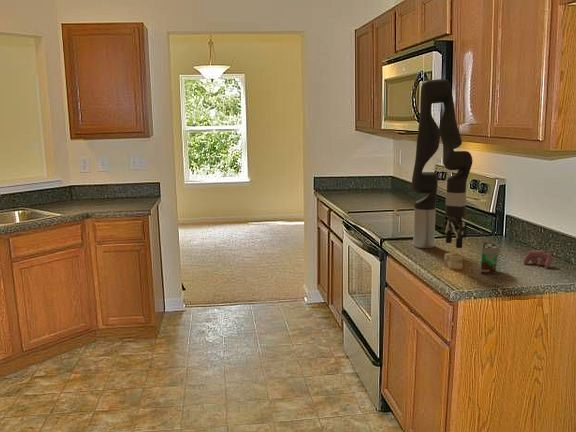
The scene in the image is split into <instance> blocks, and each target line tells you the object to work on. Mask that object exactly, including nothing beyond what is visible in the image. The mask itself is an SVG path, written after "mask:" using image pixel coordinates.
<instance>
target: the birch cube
mask: <svg viewBox="0 0 576 432" xmlns="http://www.w3.org/2000/svg"><path fill="white" fill-rule="evenodd" d="M463 259H464V256H463V255H461V254H459V252H450V253H449V252H448V253H444V262H443V263H444V264H443V265H444V267H446V268H448V269H449V270H457V269H458V270H459V269H460V270H461V269H463Z"/></svg>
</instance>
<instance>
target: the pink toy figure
mask: <svg viewBox="0 0 576 432" xmlns="http://www.w3.org/2000/svg"><path fill="white" fill-rule="evenodd" d="M538 258H539V259H540V260H539V259H538ZM553 260H554V257H553V255H552V254H551V253H550V252H547V251H546V250H540V249H530V251H528V252H527V254H526V255H525V257H524V258H523V264H524V265H526V264H529V262H531V264H533V265H537V264H538V263H539V265H541V266H543V267H545V269H548V268H549V267H550V266H551V264H552V261H553Z"/></svg>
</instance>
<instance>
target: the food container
mask: <svg viewBox="0 0 576 432" xmlns="http://www.w3.org/2000/svg"><path fill="white" fill-rule="evenodd" d="M499 253H501V249H500V246H499V244H497V243H495V242H492V241H491V242H490V241H483V245H482V250H481V262H480V263H481V264H480V265H481V266H480V274H482V275H490V274H495V273H496V268H497V261H498V257H499V256H498V255H499Z"/></svg>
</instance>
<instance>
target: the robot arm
mask: <svg viewBox="0 0 576 432" xmlns="http://www.w3.org/2000/svg"><path fill="white" fill-rule="evenodd" d="M419 97H420V101H419V102H420V103H419V104H420V105H419V106H420V107H419V123H418V127H417V128H418V129H417V137H416V151H415V160H414V166H413V172H412V177H411V190H412V192H414V193H415V194H427V195H426V196H425V197H423V198H421V199H418V200H416V201H415V202H414V207H413V208H414V210H413V212H414V214H413V233H412V235H413V236H412V245H413V247H415V248H418V249H419V248H420V249H431V248H435V237H436V236H435V235H436V209H437V207H436V206H437V195H438V194H437V192H438V185H439V184H438V183H439V177H438V174H437V173H436V172H435V171H434V172H433V171H423V170H424V168H425V166H426V165H427V163H428V162H429V160H430V159H431V158H432V157H434V155H435V154H436V153H437V151H438V150H439V147H440V141H441V142H442V143H441V144H442V149H443V150H442V164H443V167H445V169H447V170H449V171H457V172H456V174H454V175H451V176H449V177H448V178H447V180H446V193H445V194H446V195H445V207H444V216H443V223H442V224H443V225H442V231H443V232H444V233H445V243H446V244H451V243H452V241H453V233H454V234H455V236H456V241H455V248H456V249H461V248H463V240H464V238H466V237H467V221H463V218H464V217H466V212H467V211H466V210H467V182H468V181H467V180H468V178H469V174H470V171H471V169H472V166H473V156H472V154H471V152H469V151H468V150H467V151H466V150H456V149H458V148H459V147H460V146H462V143H463V141H462V137H461V133H460V130H459V128H458V127H459V126H458V123H457V118H456V111H455V104H454V103H455V102H454V96H453V90H452V86H451V83H450V81H449V80H448V79H447V78H446V79H445V78H440V79H439V78H437V79H429V80H428V79H427V80H424V81H423V82H422V84H421V86H420V95H419ZM440 103H442V104H443V107H444V111H443V114H442V117H441V119H440V121H439V122H440V123H439V125H438V124H437V122H436V121H435V118H434V117H433V115H432V113H431V111H432V110H431V107H432V104H440ZM455 150H456V151H455Z"/></svg>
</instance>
